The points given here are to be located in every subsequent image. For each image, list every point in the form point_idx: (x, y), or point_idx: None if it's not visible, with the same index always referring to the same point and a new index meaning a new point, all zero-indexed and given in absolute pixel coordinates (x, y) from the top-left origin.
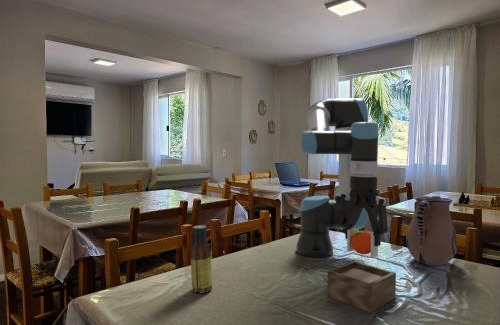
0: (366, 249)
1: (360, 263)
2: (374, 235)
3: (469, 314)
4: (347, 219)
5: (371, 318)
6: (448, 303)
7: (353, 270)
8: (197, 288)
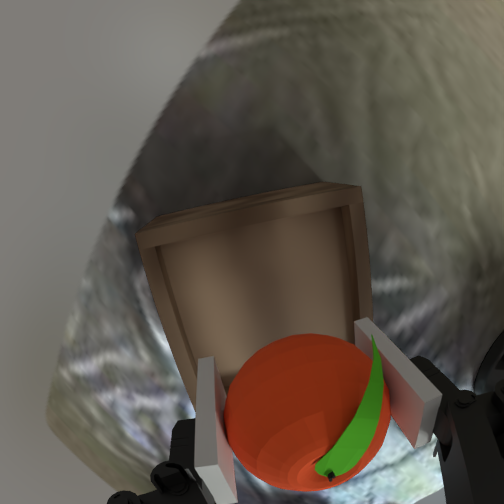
0: (239, 371)
1: None
2: (168, 462)
3: (70, 414)
4: (494, 449)
5: (131, 191)
6: (122, 429)
7: (333, 325)
8: None
